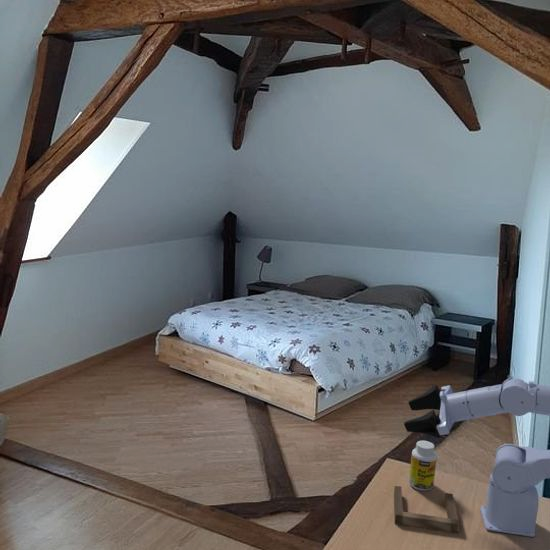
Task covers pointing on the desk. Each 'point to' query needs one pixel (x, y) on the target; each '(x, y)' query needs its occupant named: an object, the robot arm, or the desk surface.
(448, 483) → the desk surface
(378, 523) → the desk surface
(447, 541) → the desk surface
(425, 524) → the wooden u-shaped block
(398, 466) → the desk surface
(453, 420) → the robot arm
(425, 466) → the supplement bottle
